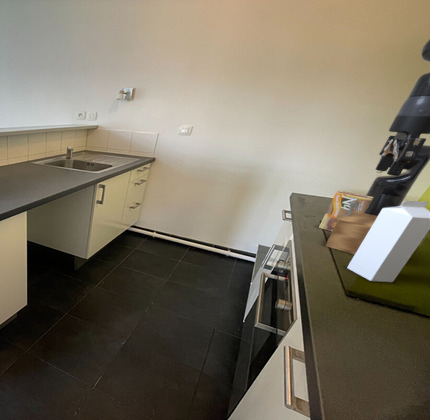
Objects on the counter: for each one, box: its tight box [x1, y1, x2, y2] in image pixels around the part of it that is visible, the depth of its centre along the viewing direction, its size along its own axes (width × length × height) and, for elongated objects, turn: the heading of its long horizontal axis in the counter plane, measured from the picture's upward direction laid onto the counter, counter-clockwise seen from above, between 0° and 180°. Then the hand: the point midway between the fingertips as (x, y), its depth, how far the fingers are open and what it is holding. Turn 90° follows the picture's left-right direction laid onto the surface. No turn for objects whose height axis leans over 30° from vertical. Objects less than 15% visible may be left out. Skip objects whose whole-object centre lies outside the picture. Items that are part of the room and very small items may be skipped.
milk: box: [346, 200, 430, 283], centre depth 64 cm, size 6×6×22 cm
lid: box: [336, 200, 378, 227], centre depth 78 cm, size 13×15×5 cm
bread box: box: [325, 220, 371, 256], centre depth 81 cm, size 13×15×10 cm
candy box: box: [318, 190, 374, 232], centre depth 92 cm, size 9×4×15 cm, turn 33°
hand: (386, 172), depth 73 cm, fingers open, 8 cm apart
